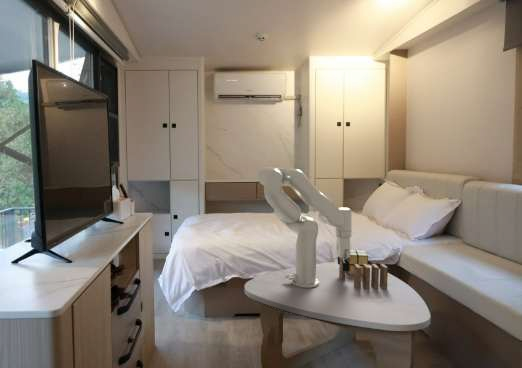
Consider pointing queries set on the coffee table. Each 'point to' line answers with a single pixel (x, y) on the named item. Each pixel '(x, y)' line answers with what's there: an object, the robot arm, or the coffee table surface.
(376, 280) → the domino
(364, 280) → the domino
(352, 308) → the coffee table surface
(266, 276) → the coffee table surface
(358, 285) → the domino
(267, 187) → the robot arm
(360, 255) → the puzzle cube
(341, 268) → the domino
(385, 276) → the domino
